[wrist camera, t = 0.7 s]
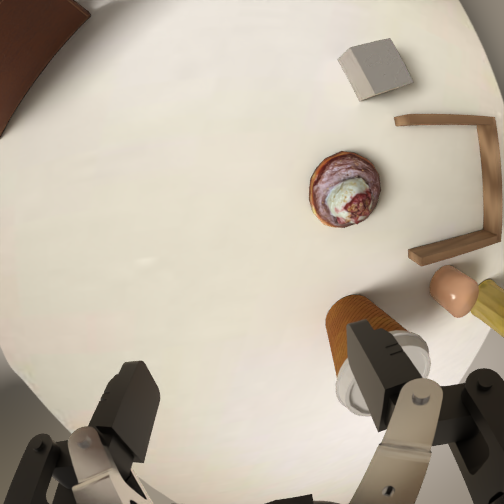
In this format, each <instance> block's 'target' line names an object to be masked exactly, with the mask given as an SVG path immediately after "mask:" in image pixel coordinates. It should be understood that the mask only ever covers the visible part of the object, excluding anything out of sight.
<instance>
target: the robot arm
mask: <svg viewBox="0 0 504 504" xmlns="http://www.w3.org/2000/svg"><path fill="white" fill-rule="evenodd" d="M346 331H347V354H348V361H349V365H350V368H351V371H352V373H353V375H354V378H355V380H356V382H357V384H358V386H359V389H360V391H361V393H362V396H363V398H364V400H365V402H366V405H367V407H368V409H369V412H370V414H371V416H372V419H373V421H374V423H375V426H376V428H377V430H378V432H380V431H383V430H386V429H387V430H386V433H385V435H384V438H383V440H382V442H381V444H379V446H378V447H377V449H376V452H375V454H374V456H373V458H372V460H371V462H370V465H369V467H368V469H367V471H366V473H365V475H364V477H363V479H362V481H361V483H360V485H359V487H358V488H357V490H356V492H355V494H354V496H353V498H352V499H351V501H350V503H349V504H415V501H416V499H417V496H418V494H419V491H420V488H421V485H422V483H423V480H424V477H425V474H426V471H427V468H428V465H429V462H430V458H431V446H436V445H442V444H449V447H450V449H451V451H452V453H453V455H454V457H455V460H456V462H457V464H458V466H459V469H460V471H461V473H462V476H463V478H464V480H465V483H466V485H467V488H468V490H469V493H470V495H471V498H472V500H473V503H474V504H504V381H503V379H502V378H501V377H500V376H499V374H497V373H496V372H495V371H493V370H491V369H485V368H483V369H477V370H475V371H473V372H472V373H470V374H469V376H468V377H467V379H466V382H465V383H463V384H457V385H451V386H440V385H439V384H438V383H436V382H435V381H433V380H430V379H426V378H423V377H422V376H421V374H420V373H419V371H418V370H417V368H416V367H415V366H414V364H413V363H412V361H411V360H410V358H409V357H408V356H407V354H406V353H405V351H403V349H402V347H401V346H400V344H398V342H397V340H396V339H395V337H394V336H393V335H392V334H391V333H389V332H388V331H386V330H384V329H383V328H380V329H376V330H374V329H373V328H372V326H371V325H370V323H369V322H368V321H367V320H366V319H364V320H360V321H357V322H353V323H349V324H347V326H346ZM159 402H160V392H159V388H158V386H157V384H156V383H155V381H154V379H153V377H152V375H151V374H150V372H149V370H148V368H147V366H146V364H145V363H144V362H143V361H132V362H125V363H124V364H123V366H122V368H121V370H120V372H119V374H116V375H115V376H114V377H113V378H112V379H111V381H110V382H109V383H108V385H107V387H106V389H105V391H104V394H103V395H102V397H101V401H99V403H98V406H97V408H96V410H95V412H94V414H93V416H92V419H91V421H90V423H89V425H88V426H86V427H81V428H79V429H77V430H76V431H74V432H73V433H72V434H71V436H70V438H69V440H67V441H60V442H55V441H54V440H52V438H51V437H50V436H49V435H47V434H39V435H36V436H35V437H34V438H32V440H31V441H30V442H29V444H28V446H27V448H26V450H25V452H24V454H23V457H22V459H21V461H20V464H19V466H18V468H17V470H16V473H15V475H14V478H13V480H12V483H11V485H10V488H9V490H8V493H7V496H6V498H5V501H4V504H49V503H48V502H47V500H46V492H47V489H48V486H49V483H50V480H51V477H53V478H54V479H55V480H57V481H58V482H59V484H58V487H57V490H56V493H55V497H54V500H53V503H52V504H154V503H153V502H152V500H151V499H150V497H149V496H148V494H147V492H146V491H145V489H144V487H143V485H142V484H141V482H140V480H139V478H138V477H137V475H136V473H135V471H134V470H133V469H132V468H131V466H132V463H133V462H138V463H144V460H145V456H146V452H147V448H148V444H149V440H150V436H151V432H152V428H153V425H154V421H155V417H156V413H157V410H158V406H159ZM266 504H339V503H334V502H328V501H313V497H312V494H310V495H304V496H299V497H293V498H287V499H280V500H275V501H272V502H269V503H266Z"/></svg>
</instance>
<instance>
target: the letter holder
mask: <svg viewBox="0 0 504 504" xmlns="http://www.w3.org/2000/svg"><path fill="white" fill-rule="evenodd" d="M90 16H91V15H90V13H89V12H88V11H87V10H86V9H85V8H83V7H82V6H81V5H80V4H78V3H77V2H76V1H74V0H0V137H1V135H2V133H3V131H4V129H5V127H6V125H7V123H8V122H9V120H10V118H11V116H12V115H13V113H14V111H15V110H16V108H17V107H18V105H19V103H20V102H21V100H22V99H23V97H24V96H25V94H26V93H27V91H28V90H29V88H30V87H31V85H32V84H33V83H34V81H35V80H36V79H37V77H38V76H39V75H40V73H41V72H42V71H43V69H44V68H45V67H46V65H47V64H48V63H49V62H50V60H51V59H52V58H53V57H54V55H55V54H56V53H57V52H58V51H59V49H60V48H61V47H62V46H63V45H64V44H65V42H66V41H67V40H68V39H69V38H70V37H71V36H72V35H73V34H74V33H75V32H76V30H77V29H78V28H79V27H80V26H81V25H82V24H83V23H84V22H85V21H86V20H87V19H88V18H89V17H90Z"/></svg>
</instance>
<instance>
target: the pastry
mask: <svg viewBox="0 0 504 504" xmlns="http://www.w3.org/2000/svg"><path fill="white" fill-rule="evenodd" d="M380 192H381V187H380V179H379V174H378V172H377V171H376V169H375V167H374V165H373V164H372V163H371V162H370V161H369V160H367V159H366V158H364V157H362V156H360V155H358V154H356V153H352V152H344V151H341V152H338V153H336V154H334V155H332V156H329V157H327V158H325V159H324V160H323V161H322V162H321V163H320V164H319V166H318V167H317V168H316V169H315V171H314V173H313V175H312V177H311V179H310V187H309V201H310V204H311V207H312V211H313V213H314V214H315V215H316V216H317V217H318V219H319V220H320V221H321V222H322V223H323V224H324V225H328V226H331V227H341V228H345V227H348V226H351V225H354V224H359V223H360V222H362V221H364V220H365V219H366V218H368V216H369V215H370V214H371V212H372V211H373V210H374V209H375V207H376V205H377V202H378V199H379V195H380Z"/></svg>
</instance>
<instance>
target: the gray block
mask: <svg viewBox="0 0 504 504" xmlns="http://www.w3.org/2000/svg"><path fill="white" fill-rule="evenodd" d="M337 60H338V62H339V63H340V65H341V67H342V69H343V71H344V73H345V74H346V76H347V78H348V80H349V82H350V84H351V86H352V88H353V90H354V92H355V94H356V96H357V98H358V100H359V101H362V100H365V99H367V98H370V97H373V96H376V95H379V94H382V93H385V92H388V91H391V90H394V89H397V88H400V87H402V86H405V85H408V84H410V83H413V80H412V78H411V76H410V74H409V72H408V70H407V68H406V66H405V64H404V62H403V60H402V58H401V56H400V55H399V53H398V51H397V49H396V47H395V45H394V44H393V42H392V40H391V39H390V38H388V39H384V40H379V41H374V42H370V43H366V44H362V45H358V46H354V47H350V48H349V49H348V50H347V51H346V52H345V53H344V54H343V55H342V56H341V57H340V58H339V59H337Z"/></svg>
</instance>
